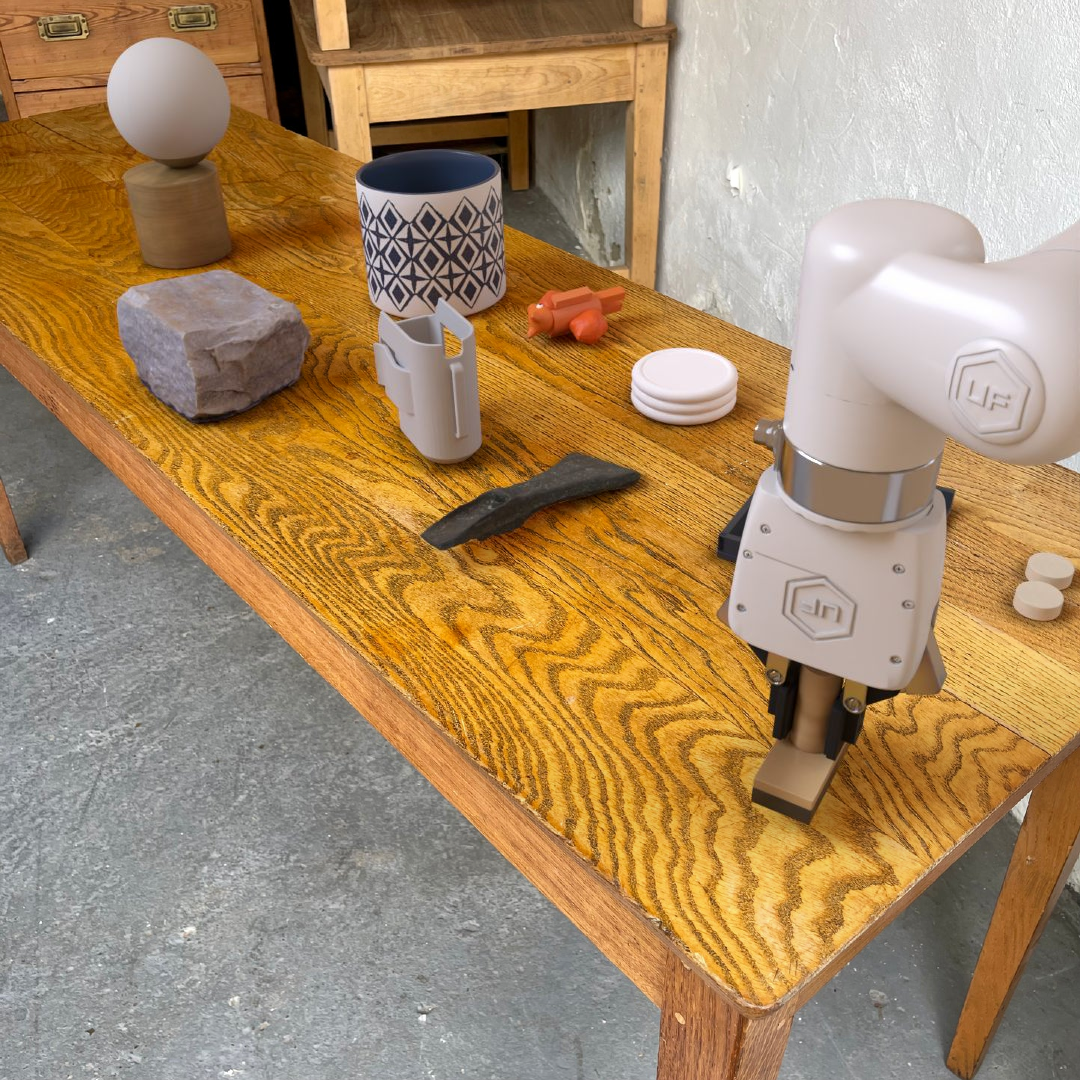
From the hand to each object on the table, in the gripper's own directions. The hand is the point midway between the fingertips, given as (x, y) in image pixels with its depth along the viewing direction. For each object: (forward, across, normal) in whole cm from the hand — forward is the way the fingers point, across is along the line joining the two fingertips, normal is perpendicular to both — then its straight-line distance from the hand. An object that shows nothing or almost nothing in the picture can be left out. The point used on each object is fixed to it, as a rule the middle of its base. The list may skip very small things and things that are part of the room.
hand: (812, 732), depth 64 cm
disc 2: (+4, +8, +24) cm, 26 cm away
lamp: (+5, -100, +48) cm, 111 cm away
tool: (+5, -31, +17) cm, 35 cm away
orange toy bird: (+5, -43, +48) cm, 65 cm away
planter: (+5, -63, +50) cm, 80 cm away
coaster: (+5, -27, +40) cm, 48 cm away
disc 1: (+4, +9, +28) cm, 30 cm away
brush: (+3, 0, 0) cm, 3 cm away
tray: (+4, -7, +26) cm, 27 cm away
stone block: (+5, -69, +22) cm, 73 cm away
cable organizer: (+5, -44, +23) cm, 50 cm away
